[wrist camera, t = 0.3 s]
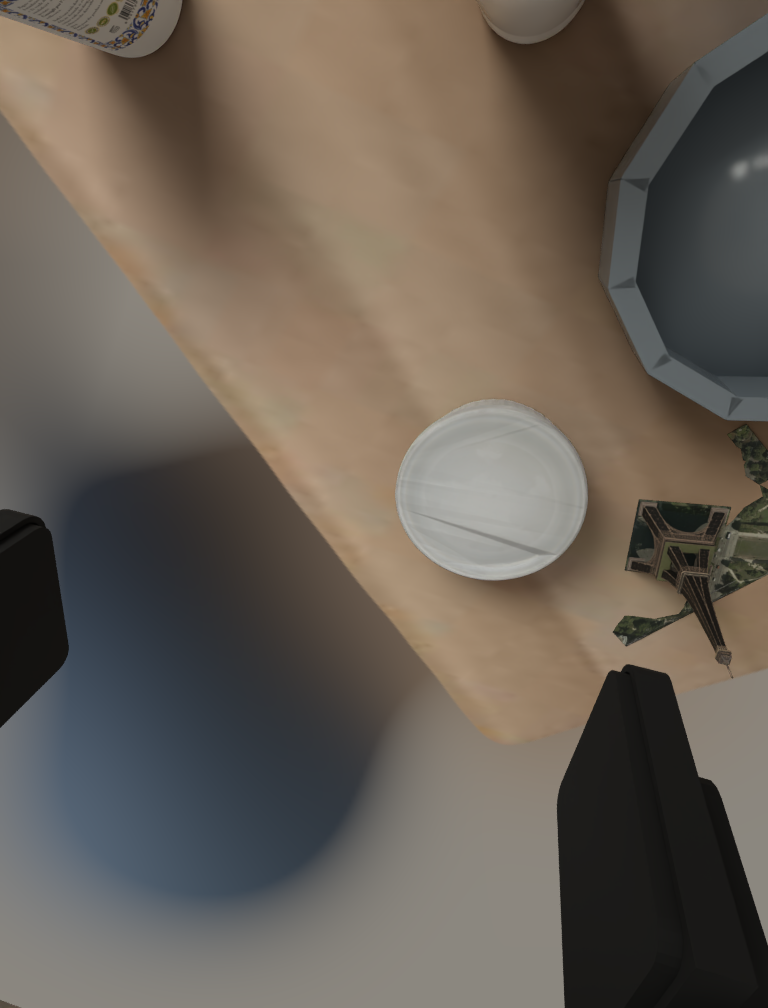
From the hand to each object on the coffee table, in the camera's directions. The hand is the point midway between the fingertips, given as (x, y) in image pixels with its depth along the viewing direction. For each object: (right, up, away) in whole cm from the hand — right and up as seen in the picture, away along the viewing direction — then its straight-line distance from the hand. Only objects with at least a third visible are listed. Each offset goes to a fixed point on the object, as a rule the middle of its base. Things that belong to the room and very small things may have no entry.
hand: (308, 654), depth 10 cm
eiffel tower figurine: (+21, 0, +30) cm, 36 cm away
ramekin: (+8, +5, +30) cm, 31 cm away
